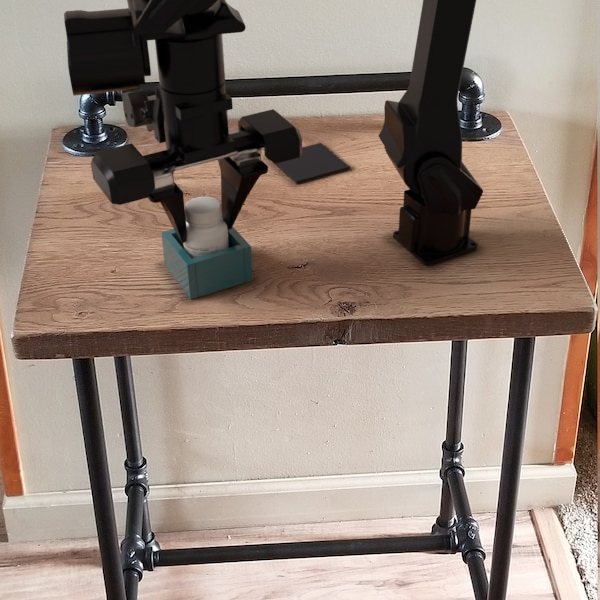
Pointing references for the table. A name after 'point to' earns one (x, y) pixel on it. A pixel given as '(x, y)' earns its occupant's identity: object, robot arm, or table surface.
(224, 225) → the pill bottle
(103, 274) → the table surface
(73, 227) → the table surface
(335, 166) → the mat
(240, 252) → the holder
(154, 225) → the table surface
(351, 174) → the table surface
